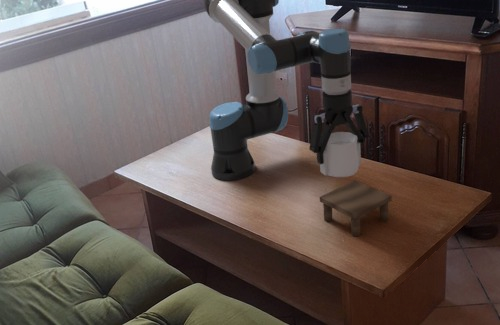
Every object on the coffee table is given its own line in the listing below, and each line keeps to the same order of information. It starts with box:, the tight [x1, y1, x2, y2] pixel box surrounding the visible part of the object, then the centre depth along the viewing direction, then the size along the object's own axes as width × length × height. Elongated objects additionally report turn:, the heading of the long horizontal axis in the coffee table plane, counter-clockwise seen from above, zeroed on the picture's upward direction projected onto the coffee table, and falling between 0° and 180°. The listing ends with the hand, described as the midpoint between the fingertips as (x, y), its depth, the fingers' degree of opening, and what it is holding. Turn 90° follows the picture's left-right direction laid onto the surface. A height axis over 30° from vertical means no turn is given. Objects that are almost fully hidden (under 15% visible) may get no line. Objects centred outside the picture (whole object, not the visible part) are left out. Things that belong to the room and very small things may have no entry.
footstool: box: [319, 179, 393, 238], centre depth 167 cm, size 14×14×8 cm
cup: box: [324, 131, 360, 178], centre depth 161 cm, size 10×10×10 cm
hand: (340, 168), depth 163 cm, fingers closed on cup, 10 cm apart
